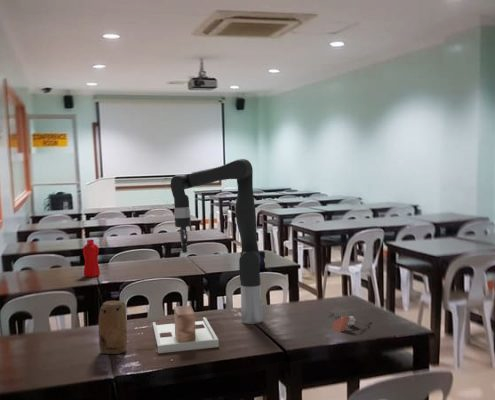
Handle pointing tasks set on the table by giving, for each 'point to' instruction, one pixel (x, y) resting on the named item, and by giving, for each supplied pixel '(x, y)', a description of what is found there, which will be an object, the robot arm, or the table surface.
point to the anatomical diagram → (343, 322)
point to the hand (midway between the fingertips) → (184, 252)
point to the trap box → (170, 344)
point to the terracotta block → (184, 324)
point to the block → (112, 327)
